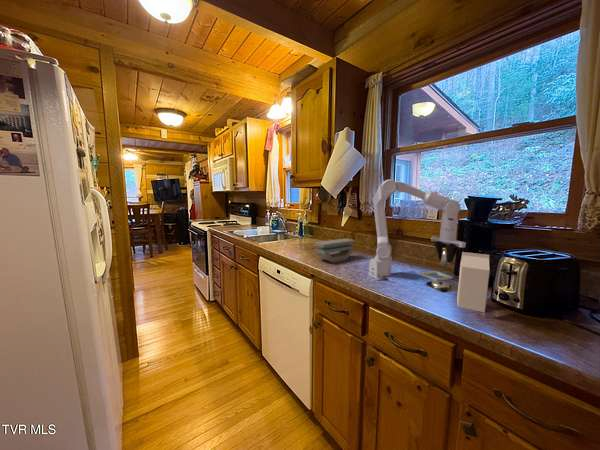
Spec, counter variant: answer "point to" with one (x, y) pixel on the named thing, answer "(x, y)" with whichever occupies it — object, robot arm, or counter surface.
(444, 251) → the lock pin
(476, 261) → the milk carton
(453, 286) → the pulley deck
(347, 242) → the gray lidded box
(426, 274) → the tray
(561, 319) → the counter surface
